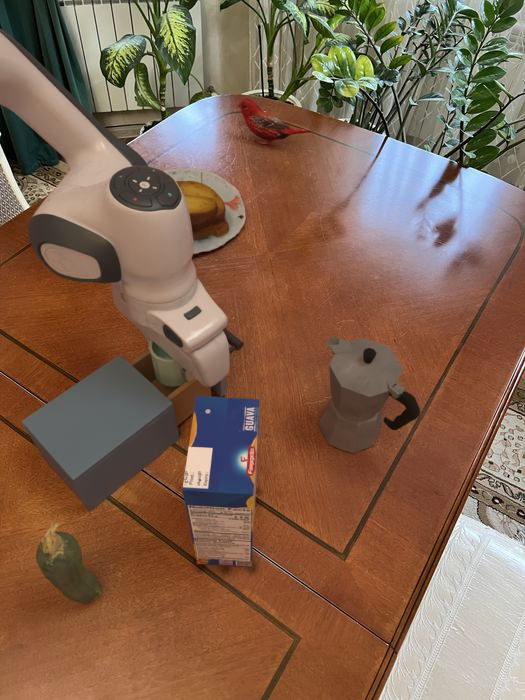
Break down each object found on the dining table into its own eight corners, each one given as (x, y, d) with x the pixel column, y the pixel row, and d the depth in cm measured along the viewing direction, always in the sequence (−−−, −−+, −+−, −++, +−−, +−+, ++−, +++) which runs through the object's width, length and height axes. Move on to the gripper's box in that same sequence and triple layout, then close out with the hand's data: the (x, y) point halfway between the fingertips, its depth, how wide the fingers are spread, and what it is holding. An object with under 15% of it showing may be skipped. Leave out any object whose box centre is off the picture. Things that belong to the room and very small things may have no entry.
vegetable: (72, 617, 68) (20, 561, 52) (65, 582, 70) (13, 519, 55) (109, 601, 69) (69, 543, 53) (100, 568, 72) (59, 502, 56)
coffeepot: (295, 416, 86) (305, 340, 72) (337, 382, 90) (355, 304, 76) (374, 487, 79) (402, 418, 65) (416, 446, 83) (451, 373, 69)
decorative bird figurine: (239, 134, 133) (239, 92, 125) (311, 153, 129) (315, 111, 121) (234, 140, 132) (233, 99, 124) (306, 159, 128) (310, 117, 120)
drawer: (207, 336, 94) (204, 304, 88) (251, 373, 90) (252, 341, 84) (108, 408, 85) (97, 377, 79) (152, 452, 81) (144, 424, 75)
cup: (146, 370, 83) (140, 344, 78) (177, 348, 85) (173, 321, 81) (172, 393, 80) (167, 368, 75) (203, 370, 83) (200, 344, 78)
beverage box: (197, 565, 72) (182, 490, 55) (206, 484, 79) (196, 395, 62) (251, 568, 72) (253, 494, 55) (256, 486, 79) (259, 398, 62)
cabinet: (130, 392, 88) (119, 353, 80) (179, 439, 83) (173, 403, 76) (41, 456, 81) (20, 421, 73) (89, 512, 76) (72, 480, 69)
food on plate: (222, 170, 124) (222, 143, 119) (265, 242, 110) (266, 215, 105) (106, 194, 118) (100, 167, 113) (135, 274, 104) (130, 247, 99)
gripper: (90, 263, 73) (110, 333, 84) (197, 354, 64) (203, 418, 75) (130, 241, 76) (144, 311, 87) (237, 324, 67) (238, 390, 78)
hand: (172, 361), depth 81 cm, fingers closed on cup, 6 cm apart
